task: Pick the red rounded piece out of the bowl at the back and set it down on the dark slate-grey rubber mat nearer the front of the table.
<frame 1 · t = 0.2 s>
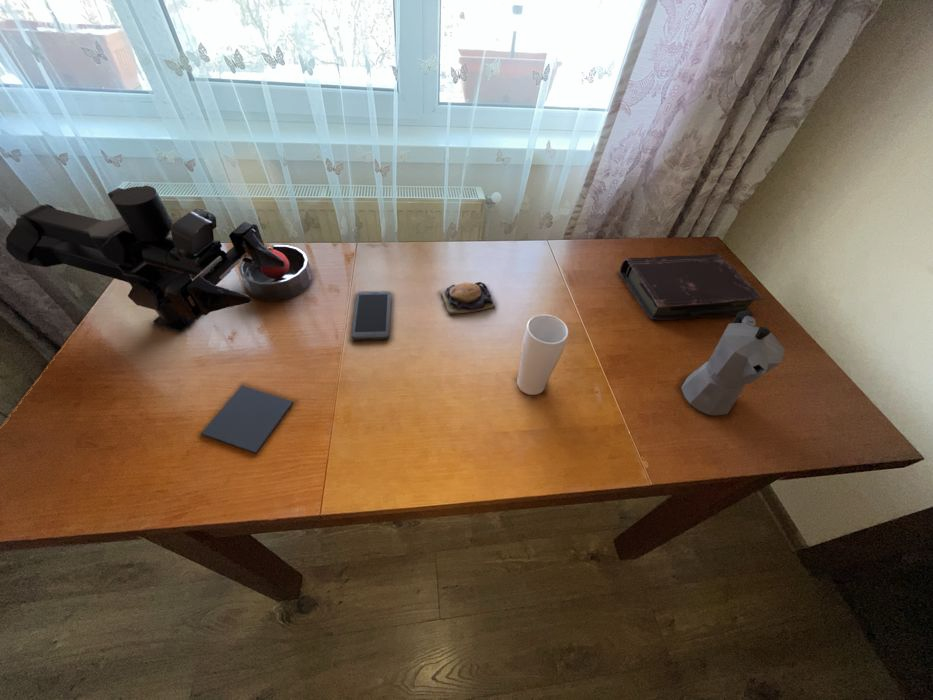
hand: (267, 281, 64), 17 cm above the table, tool horizontal, fingers open, 9 cm apart
bowl: (279, 280, 89), on the table
cell phone: (372, 316, 84), on the table
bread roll: (467, 300, 89), on the table
diary: (681, 294, 95), on the table
red rounded piece: (279, 279, 89), resting on bowl
coffeepot: (704, 392, 76), on the table
mat: (249, 418, 66), on the table
tall white cup: (530, 385, 74), on the table
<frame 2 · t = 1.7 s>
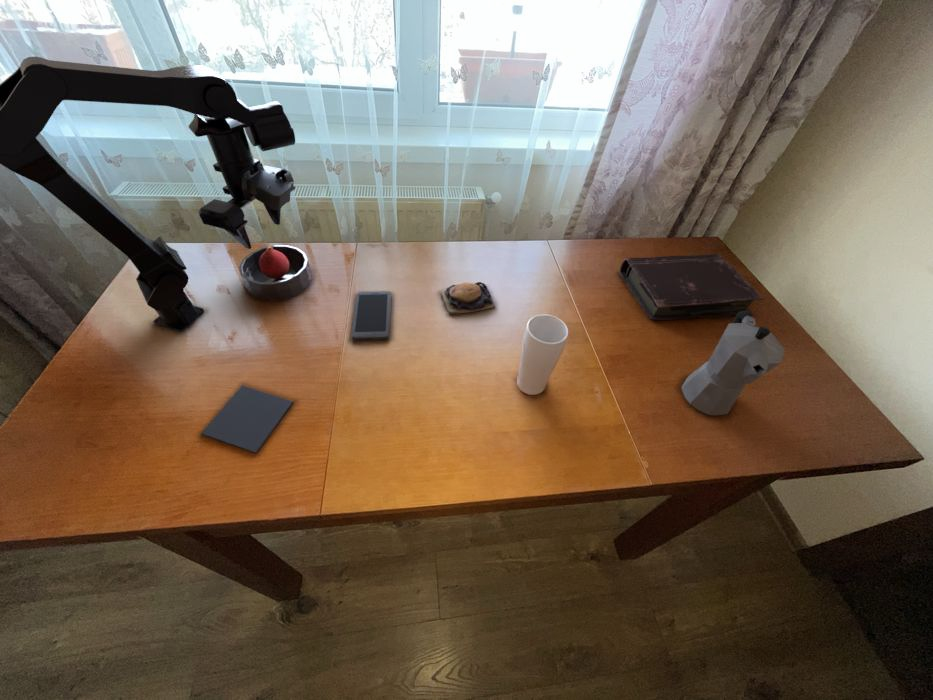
hand: (263, 235, 80), 11 cm above the table, tool pointing down, fingers open, 9 cm apart
nothing on the table moved.
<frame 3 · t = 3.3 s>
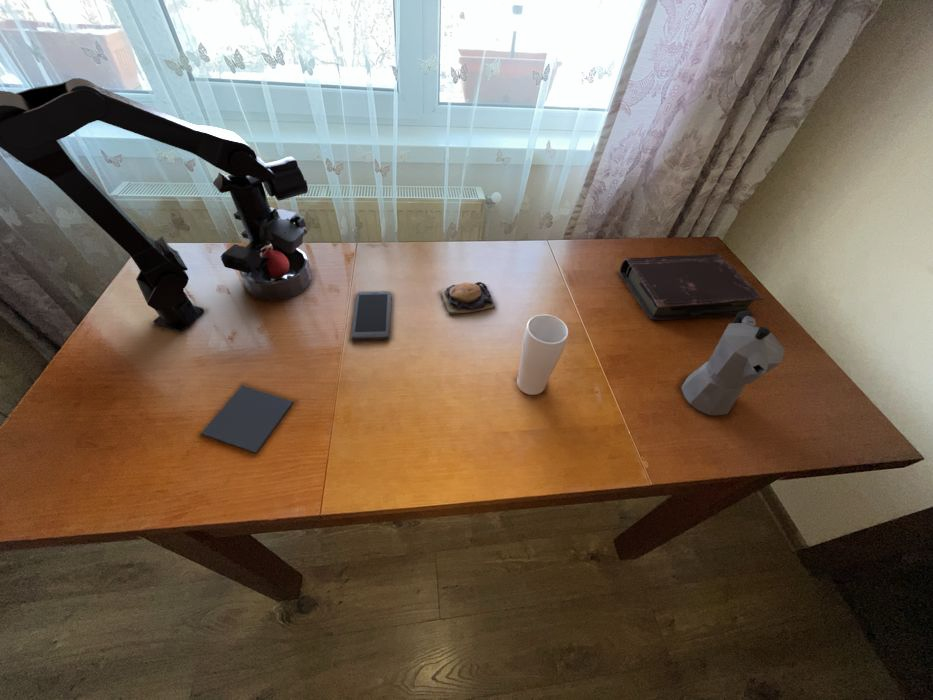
hand: (277, 272, 87), 2 cm above the table, tool pointing down, fingers closed on red rounded piece, 6 cm apart
red rounded piece: (279, 278, 89), resting on bowl, touching gripper
everything else where it was.
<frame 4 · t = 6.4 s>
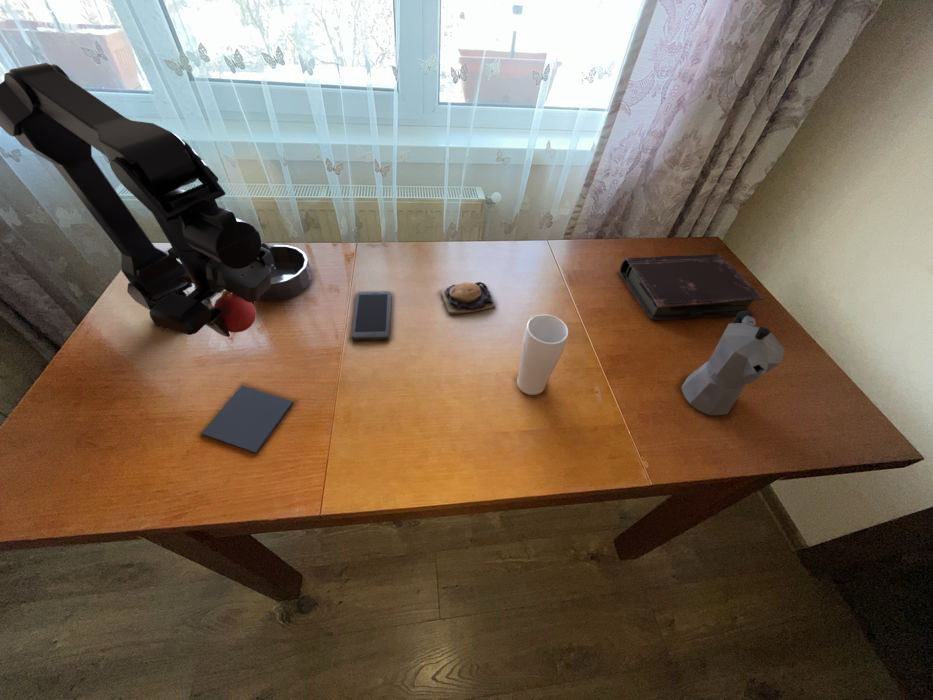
hand: (239, 322, 64), 12 cm above the table, tool pointing down, fingers closed on red rounded piece, 6 cm apart
red rounded piece: (243, 330, 66), point 10 cm above the table, touching gripper
everything else where it was.
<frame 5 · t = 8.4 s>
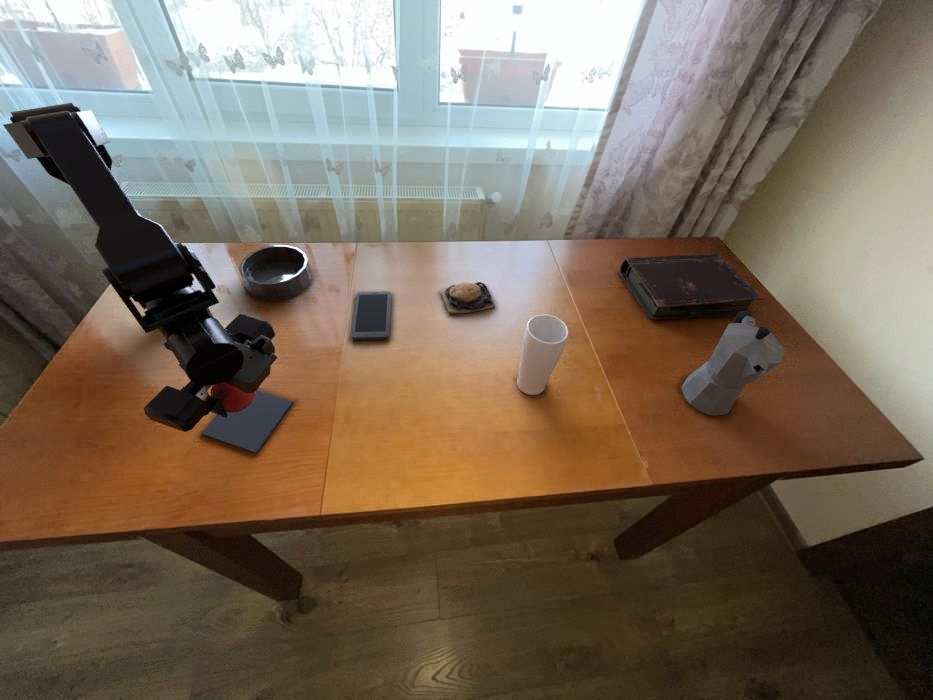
hand: (237, 400, 62), 5 cm above the table, tool pointing down, fingers closed on red rounded piece, 6 cm apart
red rounded piece: (242, 406, 64), point 3 cm above the table, touching gripper
everything else where it was.
when the fingers open (2 cm above the table, at t = 9.7 s): red rounded piece stays where it is, resting on mat.
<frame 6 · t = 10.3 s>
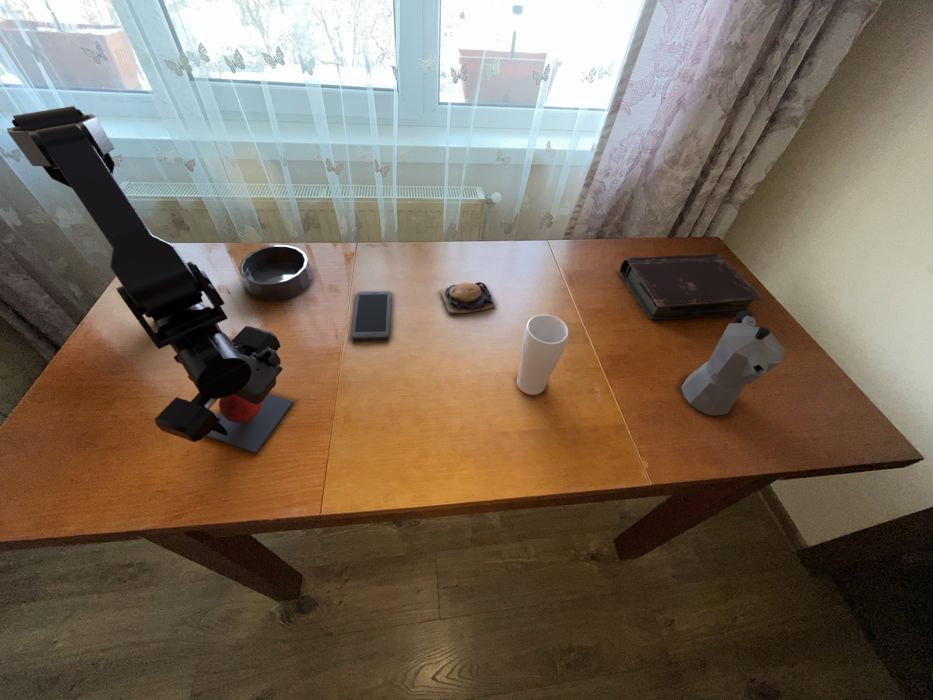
hand: (244, 409, 64), 3 cm above the table, tool pointing down, fingers open, 9 cm apart
red rounded piece: (249, 416, 66), resting on mat
everything else where it was.
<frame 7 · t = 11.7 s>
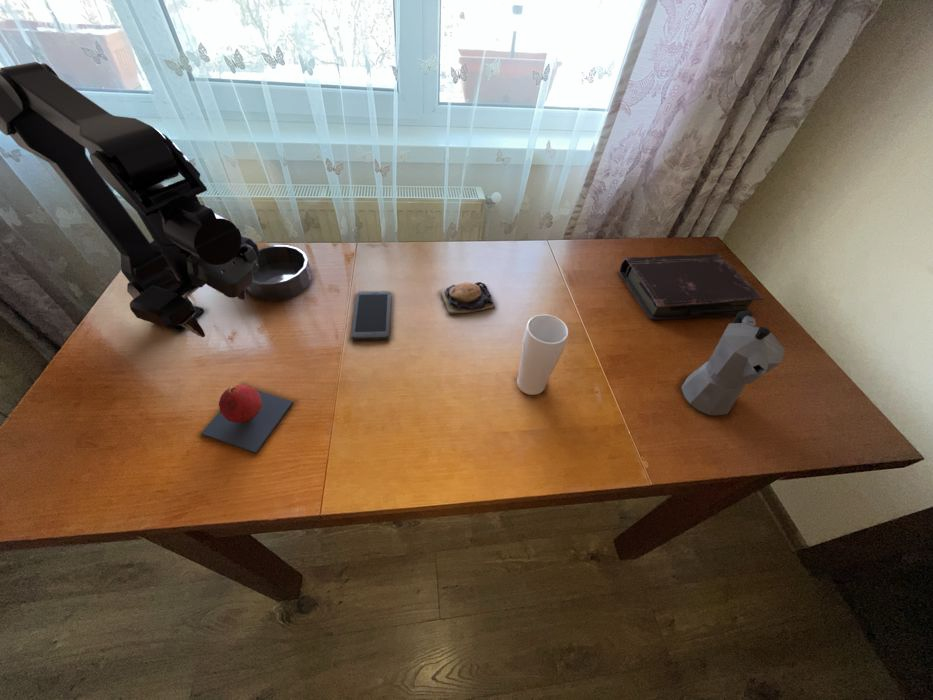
hand: (222, 316, 65), 12 cm above the table, tool pointing down, fingers open, 9 cm apart
nothing on the table moved.
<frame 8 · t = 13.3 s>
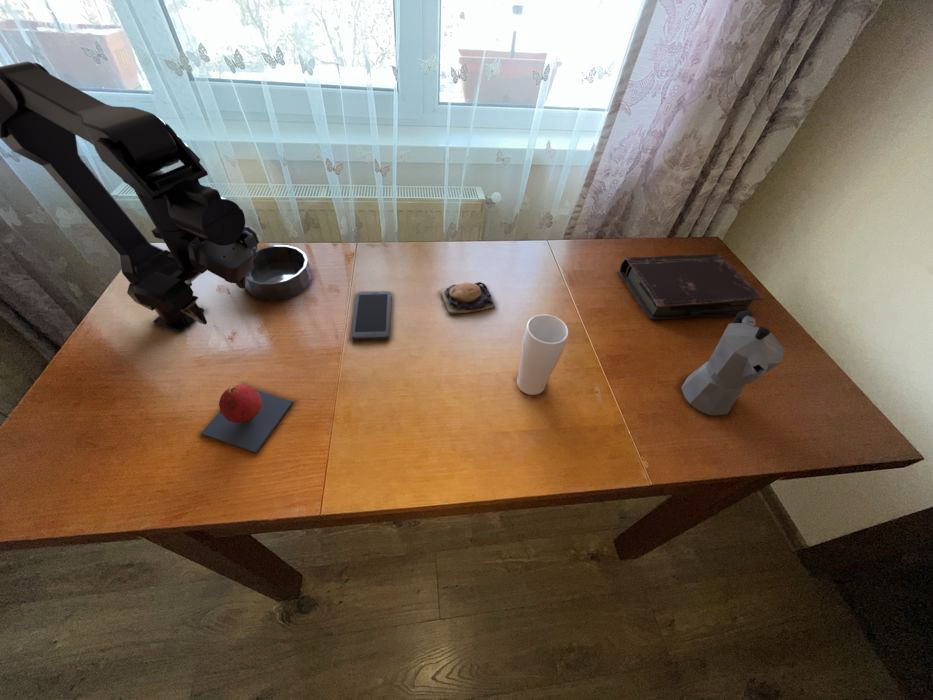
hand: (224, 304, 66), 12 cm above the table, tool pointing down, fingers open, 9 cm apart
nothing on the table moved.
at the end: red rounded piece inside the target area on the mat (0.1 cm from its centre), point 0.2 cm above the mat's base; red rounded piece touching mat; the gripper is holding nothing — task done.
